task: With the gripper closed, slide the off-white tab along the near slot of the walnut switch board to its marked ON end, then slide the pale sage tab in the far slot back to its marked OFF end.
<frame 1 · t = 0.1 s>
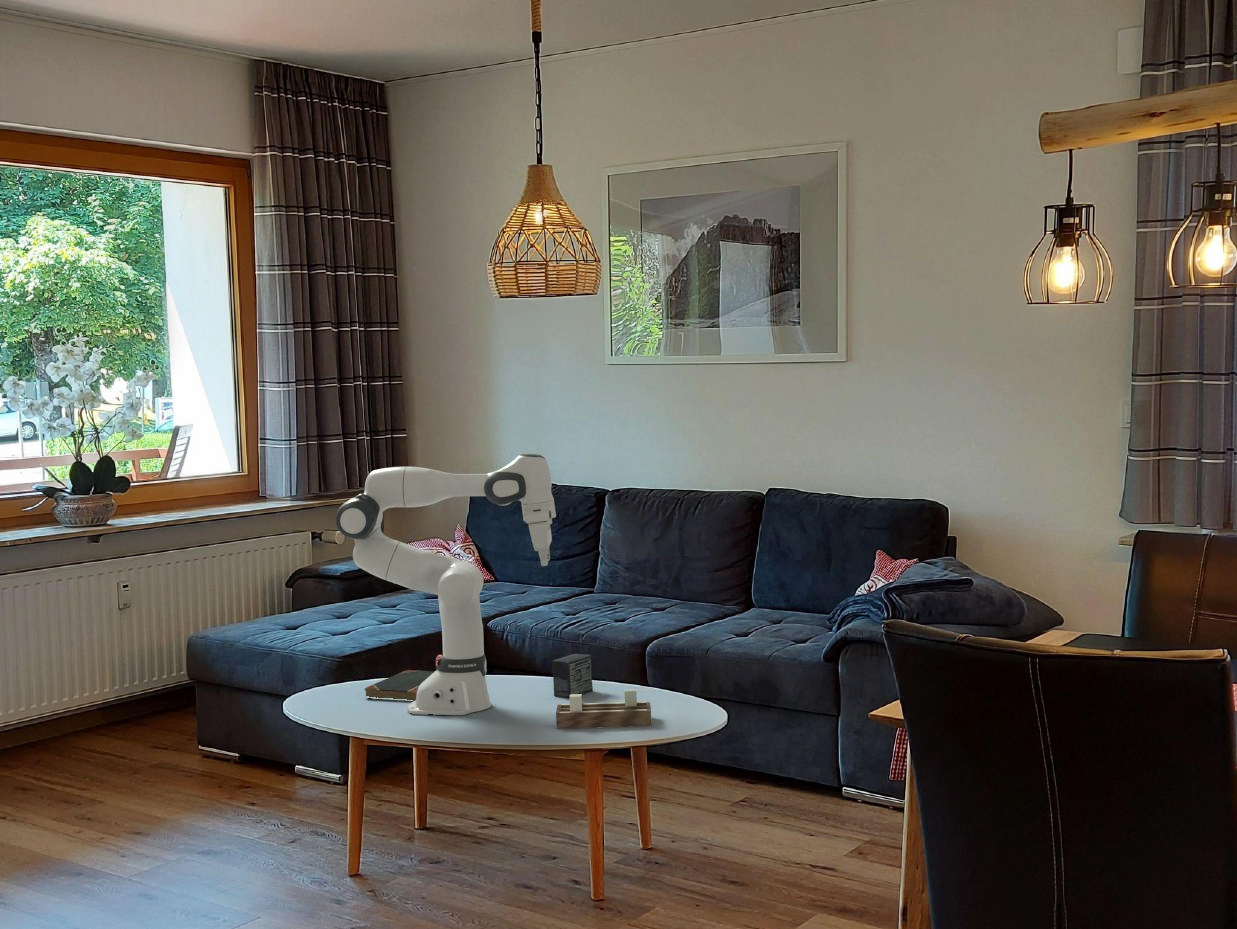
hand: (545, 563, 343), 39 cm above the table, tool pointing down, fingers open, 8 cm apart
sage tab: (630, 700, 325), point 5 cm above the table, slide at 14.0 cm
offwhite tab: (575, 706, 321), point 5 cm above the table, slide at 0.0 cm
switch board: (604, 722, 324), on the table
book: (412, 692, 367), on the table
small box: (573, 694, 357), on the table
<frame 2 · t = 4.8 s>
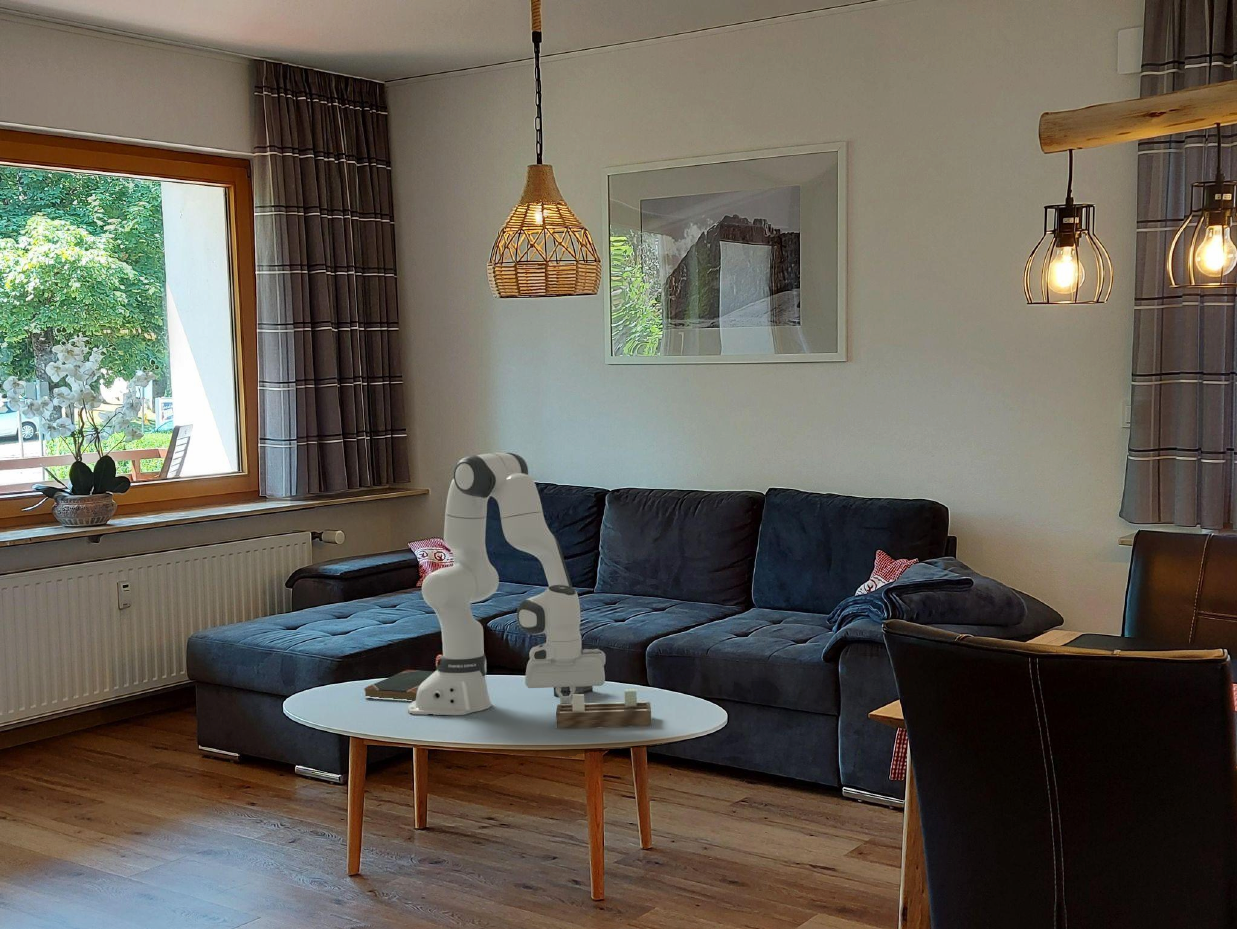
hand: (566, 703, 321), 6 cm above the table, tool pointing down, fingers closed
offwhite tab: (578, 706, 321), point 5 cm above the table, slide at 0.7 cm, touching gripper
everything else where it was.
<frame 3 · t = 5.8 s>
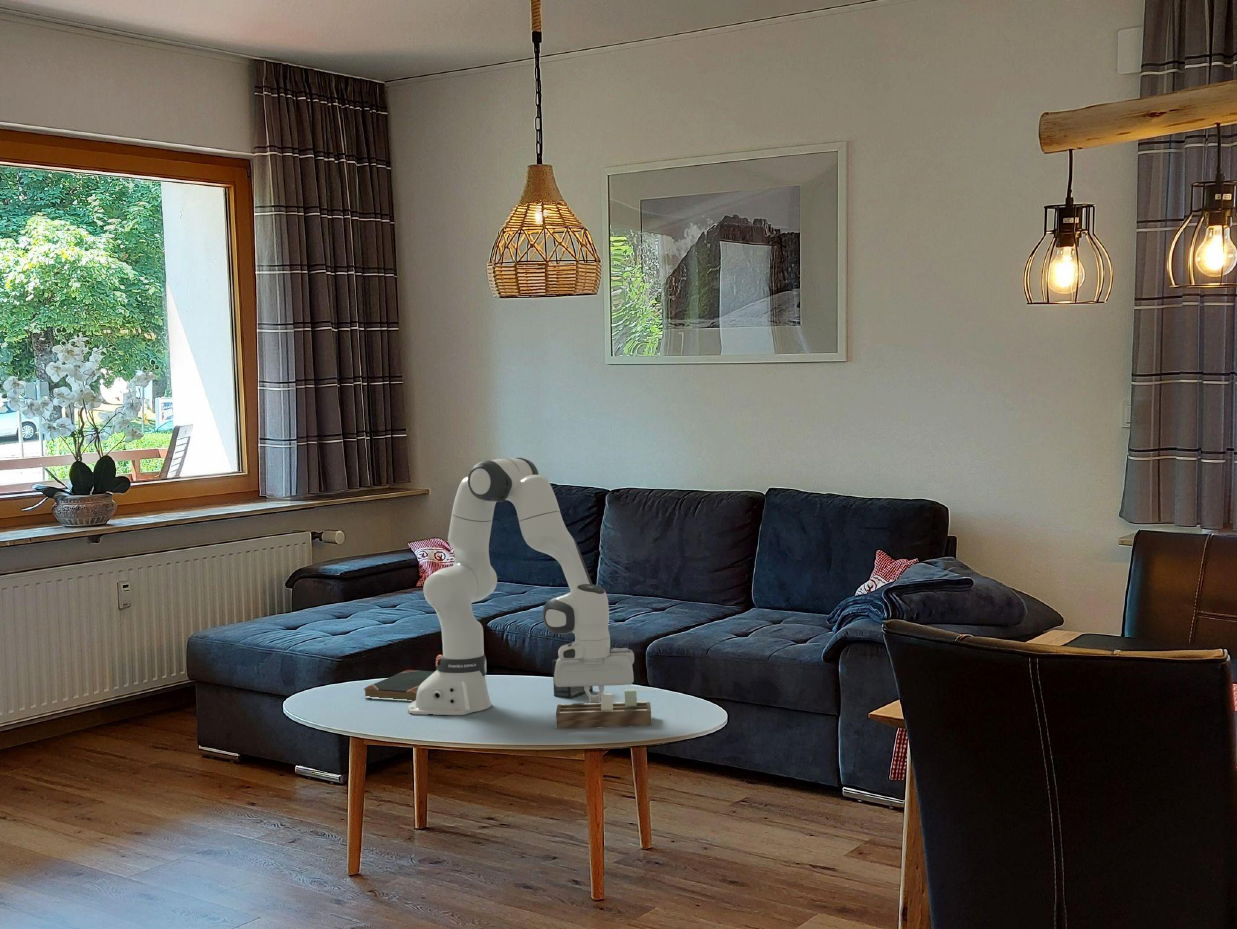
hand: (594, 702, 321), 6 cm above the table, tool pointing down, fingers closed
offwhite tab: (607, 705, 321), point 5 cm above the table, slide at 7.9 cm, touching gripper
everything else where it was.
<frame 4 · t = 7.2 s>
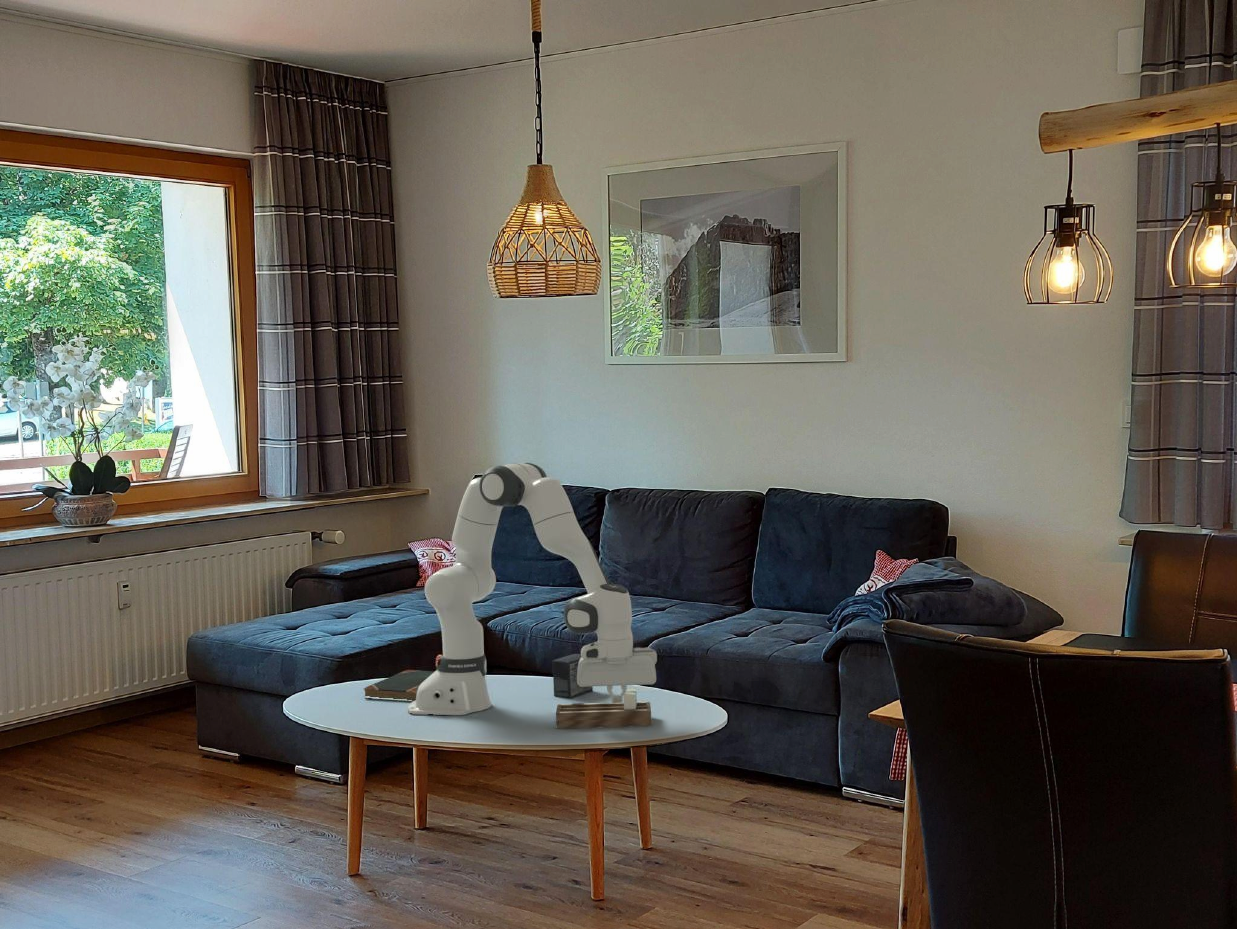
hand: (617, 702, 321), 6 cm above the table, tool pointing down, fingers closed
offwhite tab: (629, 704, 321), point 5 cm above the table, slide at 13.7 cm, touching gripper
everything else where it was.
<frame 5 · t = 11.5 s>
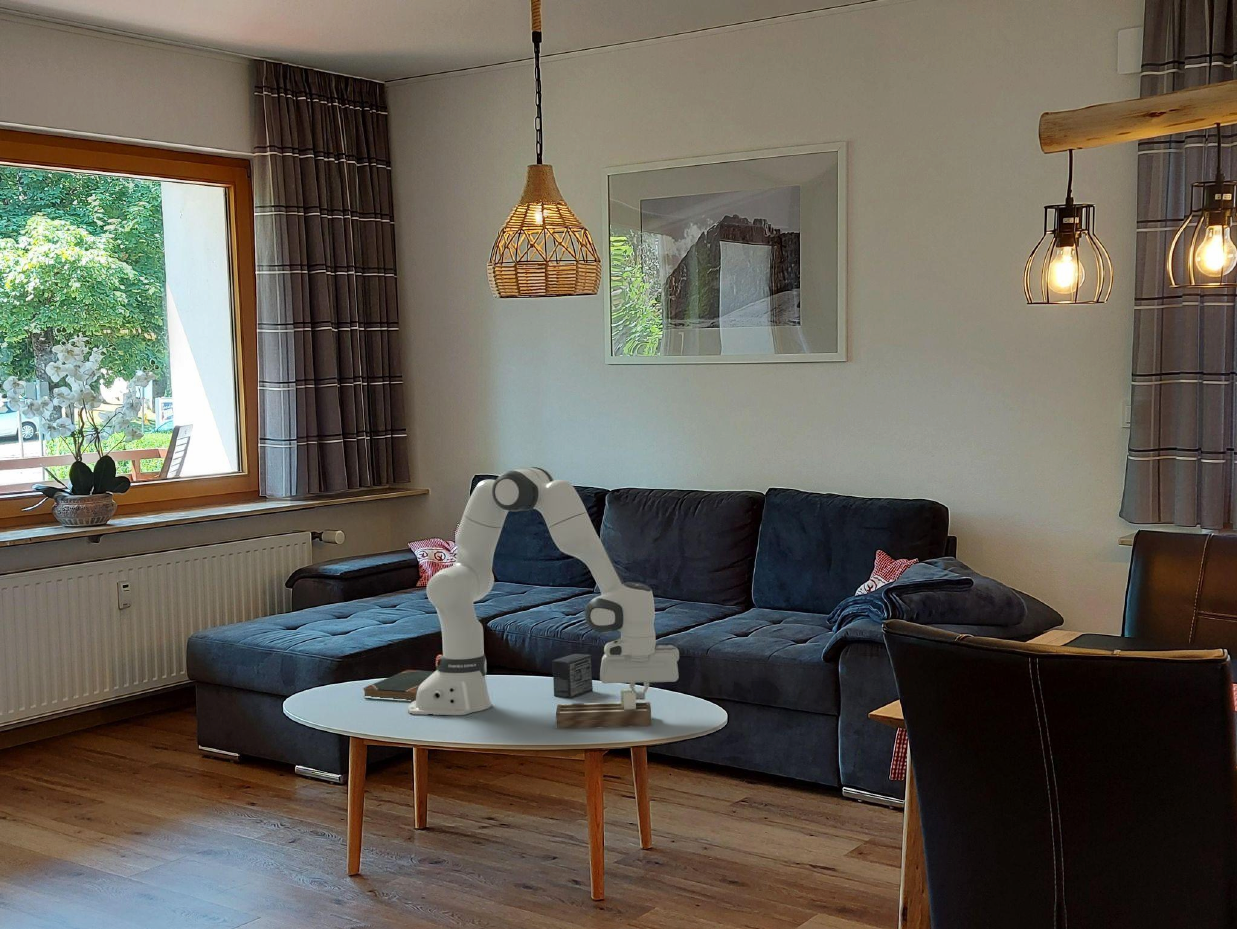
hand: (639, 699, 326), 5 cm above the table, tool pointing down, fingers closed
sage tab: (626, 701, 325), point 5 cm above the table, slide at 13.0 cm, touching gripper
offwhite tab: (629, 704, 321), point 5 cm above the table, slide at 13.7 cm
everything else where it was.
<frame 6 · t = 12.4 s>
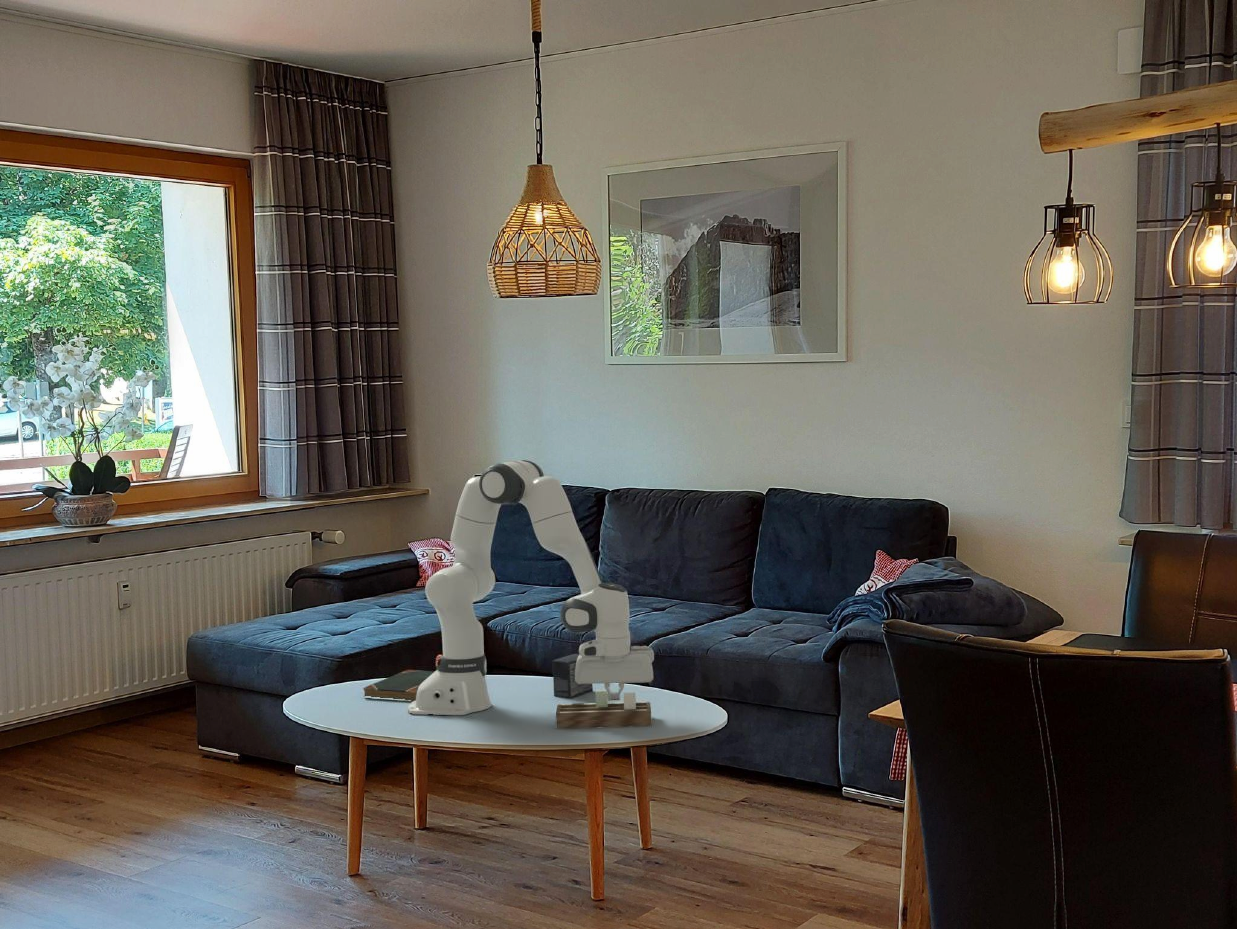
hand: (614, 699, 326), 5 cm above the table, tool pointing down, fingers closed
sage tab: (601, 701, 325), point 5 cm above the table, slide at 6.5 cm, touching gripper
everything else where it was.
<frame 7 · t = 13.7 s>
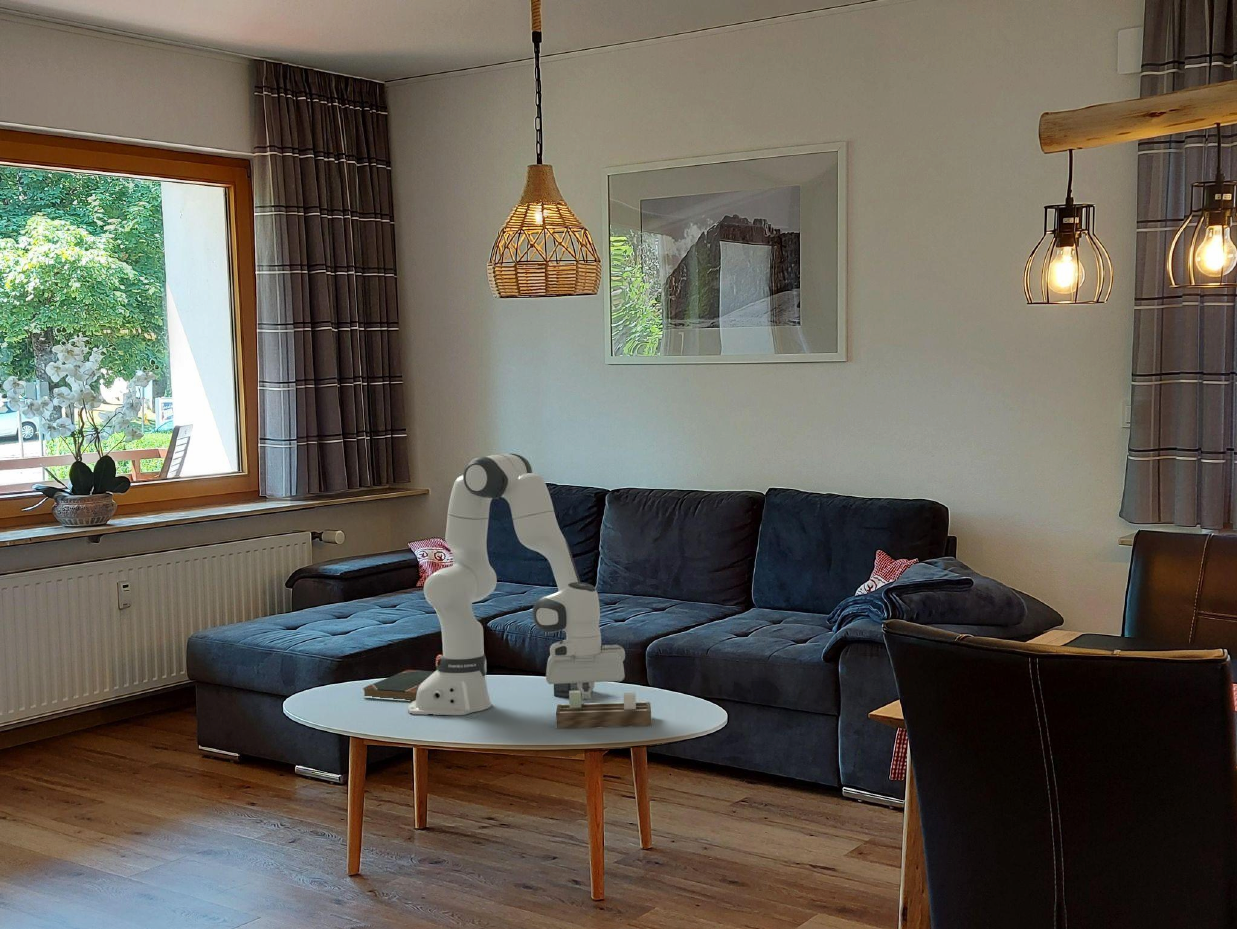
hand: (586, 699, 325), 6 cm above the table, tool pointing down, fingers closed
sage tab: (575, 702, 325), point 5 cm above the table, slide at -0.3 cm, touching gripper
everything else where it was.
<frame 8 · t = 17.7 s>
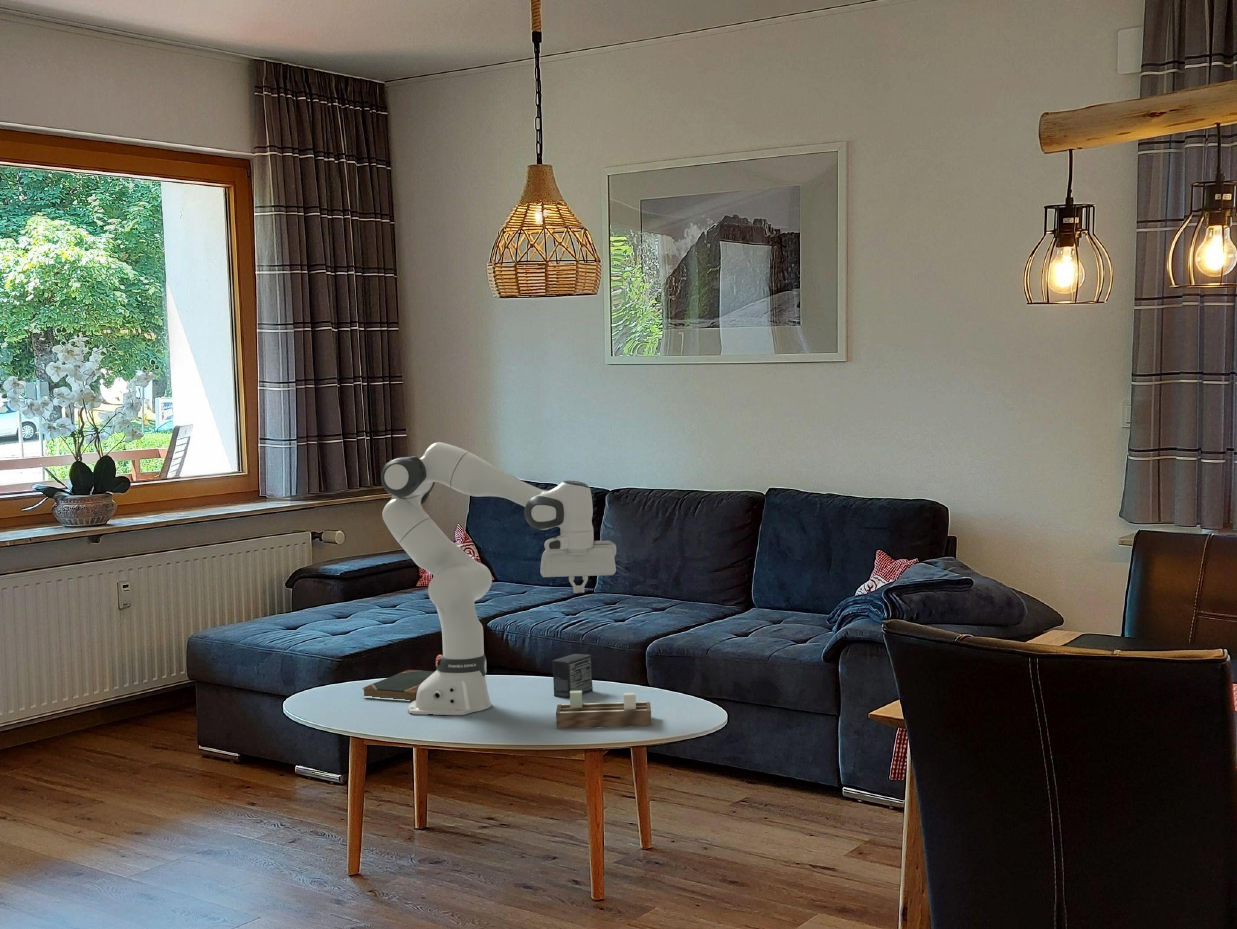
hand: (578, 592, 339), 31 cm above the table, tool pointing down, fingers closed
sage tab: (576, 702, 325), point 5 cm above the table, slide at 0.0 cm
everything else where it was.
at the end: offwhite tab slide at 13.7 cm; sage tab slide at 0.0 cm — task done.
